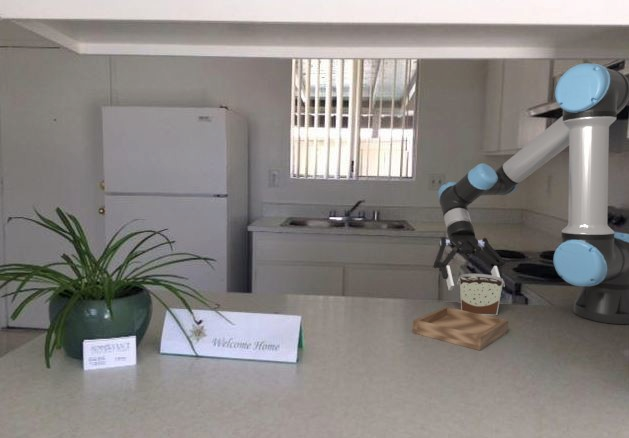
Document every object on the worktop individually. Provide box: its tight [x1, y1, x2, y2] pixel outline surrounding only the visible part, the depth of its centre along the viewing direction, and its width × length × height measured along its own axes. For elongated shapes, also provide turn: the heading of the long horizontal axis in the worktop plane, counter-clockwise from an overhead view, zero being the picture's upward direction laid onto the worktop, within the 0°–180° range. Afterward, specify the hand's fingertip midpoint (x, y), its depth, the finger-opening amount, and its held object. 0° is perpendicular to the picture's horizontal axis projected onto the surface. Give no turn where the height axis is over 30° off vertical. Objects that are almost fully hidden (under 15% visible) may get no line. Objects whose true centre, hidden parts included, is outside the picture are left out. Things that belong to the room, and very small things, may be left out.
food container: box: [456, 273, 506, 316], centre depth 137 cm, size 12×6×10 cm, turn 84°
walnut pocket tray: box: [412, 306, 509, 351], centre depth 119 cm, size 16×16×3 cm
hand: (475, 288), depth 137 cm, fingers open, 13 cm apart
